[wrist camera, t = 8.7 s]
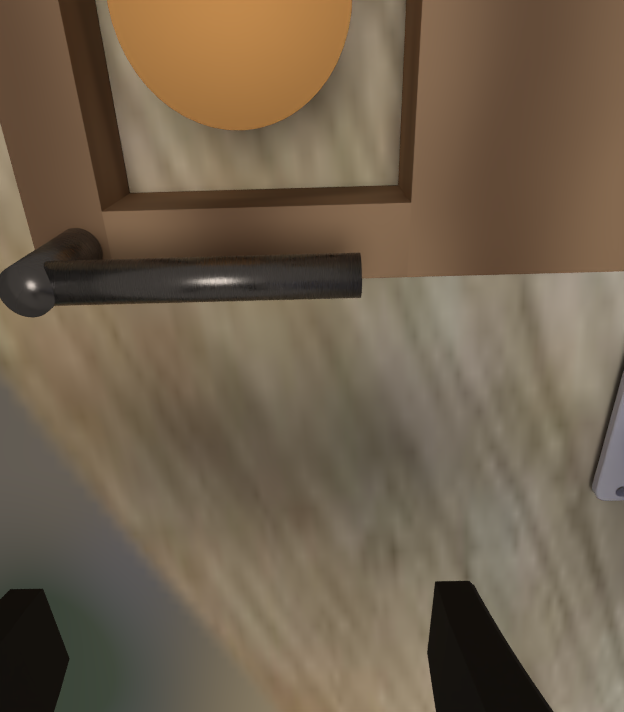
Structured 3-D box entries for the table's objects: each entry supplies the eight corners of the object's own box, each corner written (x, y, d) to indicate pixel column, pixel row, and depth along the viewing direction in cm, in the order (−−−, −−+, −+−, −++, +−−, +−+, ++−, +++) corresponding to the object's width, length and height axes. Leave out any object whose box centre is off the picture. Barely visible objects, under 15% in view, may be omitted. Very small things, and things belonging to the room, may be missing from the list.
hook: (347, 200, 16) (361, 256, 11) (347, 239, 17) (361, 308, 12) (85, 207, 16) (-11, 265, 12) (94, 246, 17) (5, 317, 12)
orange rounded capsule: (347, -78, 13) (368, -151, 9) (329, 118, 15) (338, 139, 11) (164, -98, 13) (92, -181, 9) (171, 103, 15) (116, 119, 11)
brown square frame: (708, -318, 11) (799, -407, 9) (588, 245, 17) (627, 271, 15) (-51, -286, 12) (-133, -365, 9) (78, 259, 17) (45, 286, 15)
